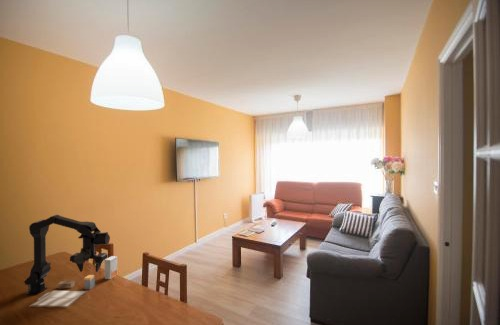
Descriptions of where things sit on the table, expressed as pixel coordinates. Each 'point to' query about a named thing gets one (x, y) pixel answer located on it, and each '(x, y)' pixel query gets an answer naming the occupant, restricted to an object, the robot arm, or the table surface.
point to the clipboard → (58, 299)
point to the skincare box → (110, 267)
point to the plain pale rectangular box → (66, 284)
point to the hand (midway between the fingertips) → (89, 271)
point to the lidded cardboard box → (89, 282)
